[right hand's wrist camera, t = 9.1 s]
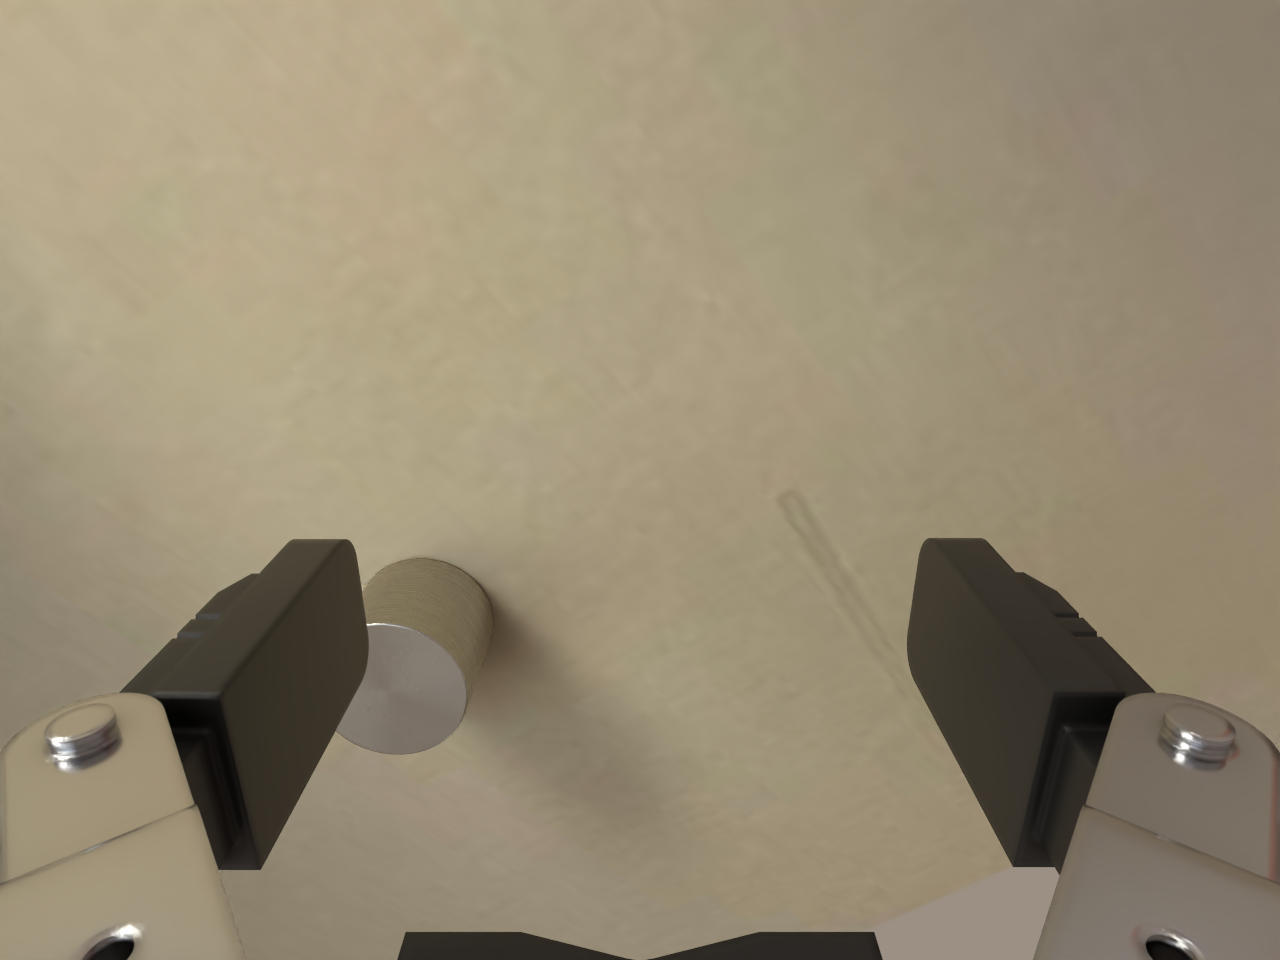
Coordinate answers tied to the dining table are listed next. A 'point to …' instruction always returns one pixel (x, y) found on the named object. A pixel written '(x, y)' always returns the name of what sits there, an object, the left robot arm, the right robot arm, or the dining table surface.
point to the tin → (418, 656)
